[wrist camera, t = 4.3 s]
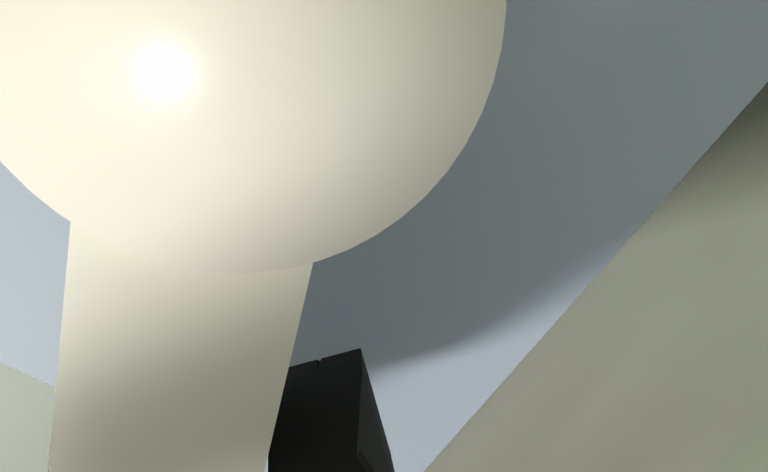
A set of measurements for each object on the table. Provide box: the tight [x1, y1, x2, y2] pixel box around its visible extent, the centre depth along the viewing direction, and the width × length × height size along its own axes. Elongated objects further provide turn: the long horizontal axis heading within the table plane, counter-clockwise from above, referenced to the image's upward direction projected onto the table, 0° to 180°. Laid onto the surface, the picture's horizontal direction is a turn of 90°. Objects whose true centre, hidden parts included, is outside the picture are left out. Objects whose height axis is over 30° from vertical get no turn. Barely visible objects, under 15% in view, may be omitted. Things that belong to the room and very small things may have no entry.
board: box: [0, 0, 768, 472], centre depth 7 cm, size 14×14×6 cm
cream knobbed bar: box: [0, 0, 506, 472], centre depth 7 cm, size 10×4×3 cm, turn 165°
